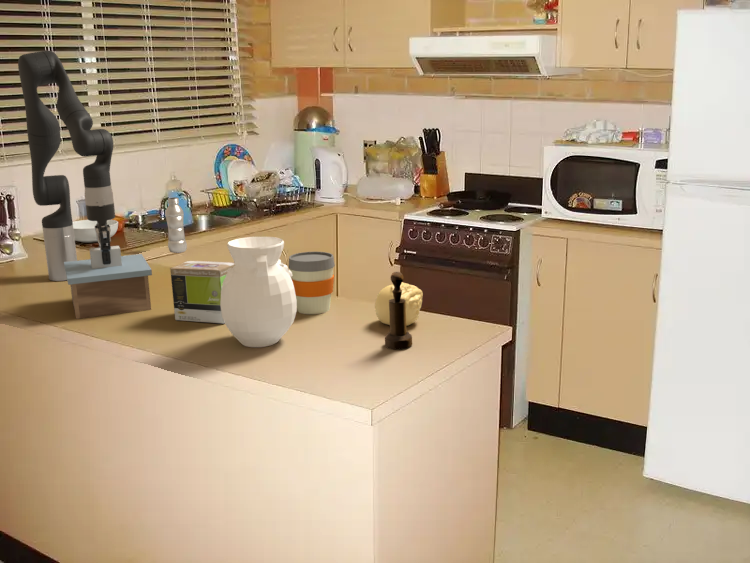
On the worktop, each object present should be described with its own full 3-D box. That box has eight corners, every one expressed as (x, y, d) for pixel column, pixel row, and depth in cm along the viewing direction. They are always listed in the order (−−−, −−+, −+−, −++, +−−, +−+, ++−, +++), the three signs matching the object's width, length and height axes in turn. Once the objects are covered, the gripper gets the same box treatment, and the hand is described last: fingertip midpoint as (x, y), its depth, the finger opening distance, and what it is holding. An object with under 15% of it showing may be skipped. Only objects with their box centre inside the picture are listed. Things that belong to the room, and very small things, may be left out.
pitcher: (305, 348, 203) (300, 245, 197) (228, 357, 198) (220, 252, 192) (290, 325, 221) (285, 231, 214) (219, 333, 216) (211, 237, 209)
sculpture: (409, 332, 213) (408, 290, 210) (367, 326, 219) (366, 285, 216) (429, 320, 222) (428, 280, 220) (388, 314, 228) (388, 275, 225)
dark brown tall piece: (383, 341, 207) (381, 269, 202) (410, 340, 207) (409, 268, 203) (386, 350, 200) (384, 276, 196) (413, 349, 201) (412, 274, 196)
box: (72, 300, 250) (68, 267, 247) (142, 292, 257) (139, 260, 255) (76, 318, 232) (71, 283, 229) (151, 309, 239) (147, 274, 237)
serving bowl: (110, 245, 326) (108, 227, 324) (56, 246, 326) (53, 229, 325) (126, 234, 346) (124, 217, 344) (75, 235, 346) (73, 219, 345)
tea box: (241, 314, 232) (238, 261, 229) (223, 325, 223) (219, 270, 219) (193, 310, 237) (188, 258, 233) (173, 320, 228) (168, 267, 224)
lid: (64, 267, 248) (61, 245, 246) (142, 259, 256) (139, 237, 254) (68, 284, 228) (65, 260, 227) (152, 275, 236) (149, 251, 234)
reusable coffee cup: (305, 301, 243) (303, 249, 239) (344, 305, 237) (342, 253, 234) (282, 313, 232) (279, 259, 228) (322, 318, 227) (319, 263, 223)
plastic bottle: (183, 254, 306) (178, 199, 301) (165, 254, 307) (160, 199, 302) (190, 251, 312) (185, 196, 307) (173, 250, 313) (168, 196, 308)
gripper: (83, 199, 242) (90, 258, 246) (87, 207, 229) (94, 269, 234) (111, 197, 245) (117, 256, 249) (116, 204, 232) (122, 266, 236)
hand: (106, 262), depth 241 cm, fingers closed on lid, 4 cm apart
